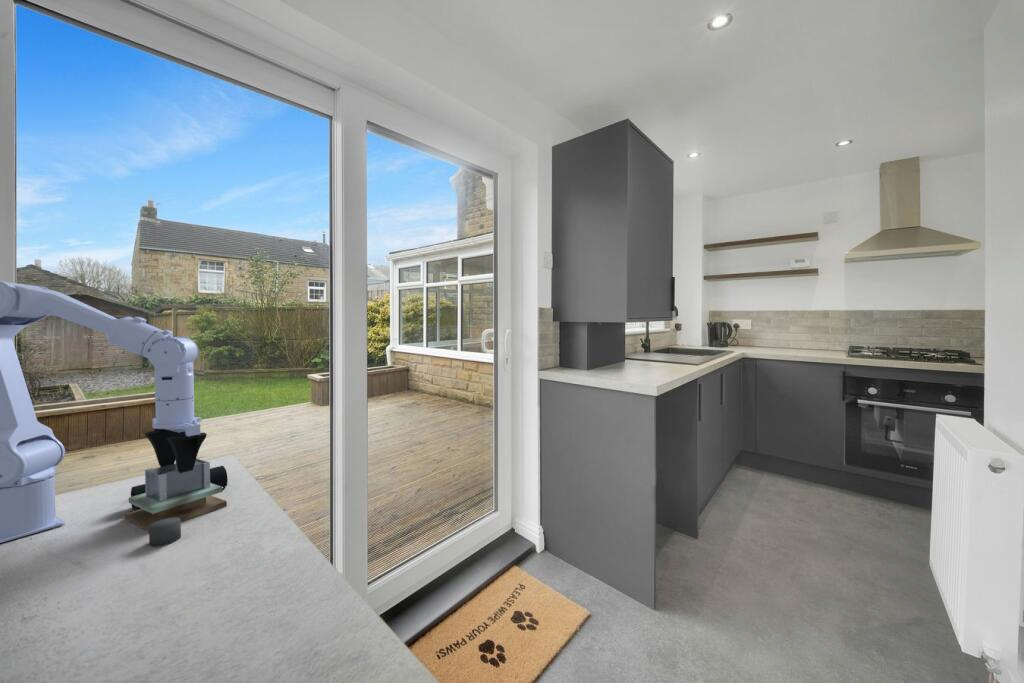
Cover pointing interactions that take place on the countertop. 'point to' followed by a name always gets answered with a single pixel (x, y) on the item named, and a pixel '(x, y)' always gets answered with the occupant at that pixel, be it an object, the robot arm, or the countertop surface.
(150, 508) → the stand
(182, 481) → the housing
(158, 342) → the robot arm
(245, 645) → the countertop surface
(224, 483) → the pipe connector
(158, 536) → the knob
